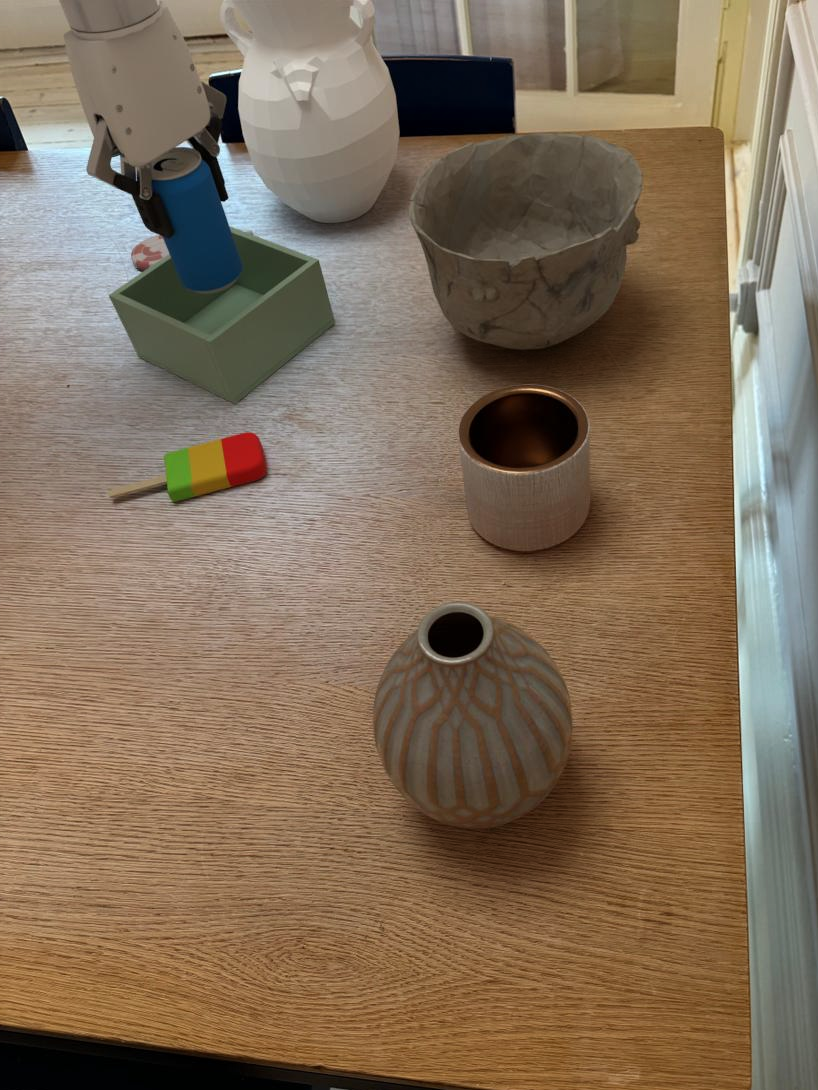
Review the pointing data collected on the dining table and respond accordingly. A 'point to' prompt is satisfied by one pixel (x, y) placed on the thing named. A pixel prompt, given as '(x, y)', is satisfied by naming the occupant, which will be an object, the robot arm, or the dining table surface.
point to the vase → (472, 719)
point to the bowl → (527, 234)
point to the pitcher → (315, 103)
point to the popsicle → (206, 468)
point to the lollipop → (151, 252)
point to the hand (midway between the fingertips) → (189, 213)
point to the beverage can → (195, 222)
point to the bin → (228, 318)
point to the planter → (526, 466)
